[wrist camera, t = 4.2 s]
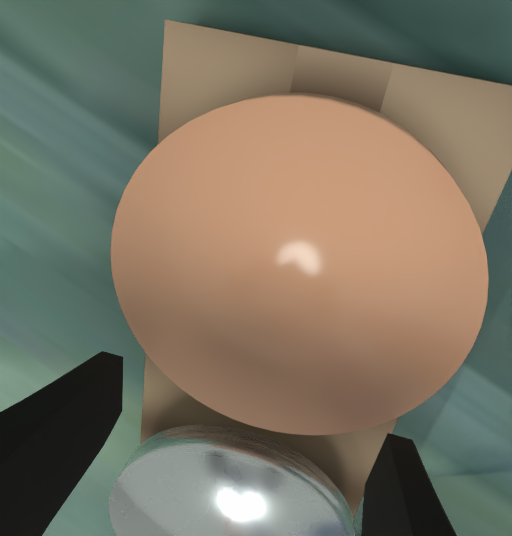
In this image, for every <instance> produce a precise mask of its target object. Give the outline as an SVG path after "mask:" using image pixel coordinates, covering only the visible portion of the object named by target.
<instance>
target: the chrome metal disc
mask: <svg viewBox="0 0 512 536" xmlns="http://www.w3.org/2000/svg"><path fill="white" fill-rule="evenodd" d="M109 515H110V519H111V523H112V526H113V529H114V531H115V533H116V535H117V536H355V530H354V520H353V517H352V514H351V510H350V508H349V506H348V504H347V502H346V500H345V498H344V496H343V495H342V493H341V492H340V490H339V489H338V487H337V486H336V485H335V484H334V483H333V482H332V481H331V479H330V478H329V477H328V476H327V475H326V474H325V473H324V472H323V471H321V470H320V469H319V468H318V467H317V466H316V465H315V464H313V463H312V462H311V461H309V460H308V459H306V458H305V457H304V456H302V455H301V454H299V453H297V452H296V451H294V450H292V449H290V448H289V447H287V446H285V445H283V444H281V443H279V442H276V441H274V440H272V439H270V438H267V437H264V436H262V435H259V434H256V433H253V432H249V431H245V430H241V429H238V428H232V427H226V426H219V425H187V426H181V427H175V428H171V429H168V430H165V431H162V432H159V433H157V434H155V435H153V436H151V437H150V438H148V439H147V440H145V441H144V442H143V443H141V444H140V445H139V446H138V447H137V449H136V450H135V451H134V452H133V454H132V455H131V457H130V459H129V460H128V462H127V464H126V466H125V467H124V469H123V471H122V472H121V474H120V476H119V478H118V479H117V481H116V483H115V484H114V486H113V488H112V491H111V494H110V499H109Z"/></svg>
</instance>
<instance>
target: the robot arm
mask: <svg viewBox="0 0 512 536" xmlns="http://www.w3.org/2000/svg"><path fill="white" fill-rule="evenodd" d="M122 389H123V357H121V356H117V355H114V354H110V353H107V352H103V351H102V352H100V353H99V354H97V355H95V356H94V357H92V358H90V359H89V360H87V361H86V362H84V363H82V364H81V365H79V366H78V367H76V368H74V369H73V370H71V371H70V372H68V373H66V374H65V375H63V376H62V377H60V378H58V379H57V380H55V381H54V382H52V383H50V384H49V385H47V386H45V387H44V388H42V389H40V390H39V391H37V392H35V393H34V394H32V395H30V396H29V397H27V398H25V399H23V400H22V401H20V402H18V403H16V404H14V405H13V406H11V407H9V408H7V409H5V410H3V411H2V412H0V536H42V535H43V533H44V532H45V530H46V528H47V527H48V525H49V524H50V522H51V521H52V519H53V518H54V516H55V515H56V514H57V512H58V511H59V509H60V508H61V506H62V505H63V503H64V502H65V501H66V499H67V498H68V496H69V495H70V493H71V492H72V491H73V489H74V488H75V486H76V485H77V483H78V482H79V481H80V479H81V478H82V476H83V475H84V473H85V472H86V470H87V469H88V468H89V466H90V465H91V463H92V462H93V460H94V459H95V457H96V456H97V454H98V453H99V452H100V450H101V449H102V447H103V446H104V444H105V442H106V440H107V438H108V437H109V435H110V433H111V431H112V429H113V427H114V425H115V424H116V422H117V420H118V418H119V416H120V414H121V412H122ZM362 536H457V535H456V533H455V531H454V529H453V527H452V525H451V523H450V521H449V519H448V517H447V515H446V513H445V511H444V509H443V507H442V505H441V503H440V501H439V499H438V496H437V494H436V492H435V490H434V488H433V485H432V483H431V481H430V479H429V477H428V474H427V472H426V470H425V467H424V465H423V463H422V460H421V458H420V456H419V453H418V451H417V449H416V446H415V444H414V442H413V441H412V440H410V439H407V438H403V437H400V436H396V435H393V434H389V433H387V436H386V438H385V440H384V442H383V445H382V447H381V449H380V451H379V454H378V456H377V458H376V460H375V463H374V465H373V467H372V470H371V472H370V474H369V476H368V479H367V481H366V483H365V491H364V503H363V518H362Z"/></svg>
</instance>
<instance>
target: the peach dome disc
mask: <svg viewBox="0 0 512 536" xmlns="http://www.w3.org/2000/svg"><path fill="white" fill-rule="evenodd" d="M111 266H112V275H113V280H114V286H115V291H116V294H117V297H118V300H119V303H120V306H121V309H122V312H123V314H124V316H125V318H126V321H127V323H128V325H129V327H130V329H131V331H132V332H133V334H134V336H135V337H136V339H137V341H138V342H139V344H140V346H141V347H142V348H143V350H144V351H145V352H146V353H147V355H148V356H149V357H150V359H151V360H152V361H153V362H154V363H155V365H156V366H157V367H158V368H159V369H160V370H161V371H162V372H163V373H164V374H165V375H166V376H167V377H168V378H169V379H170V380H171V381H173V382H174V383H175V384H176V385H177V386H178V387H180V388H181V389H182V390H183V391H185V392H186V393H188V394H189V395H190V396H192V397H193V398H195V399H196V400H197V401H199V402H201V403H202V404H204V405H206V406H208V407H209V408H211V409H213V410H215V411H217V412H219V413H221V414H223V415H225V416H227V417H230V418H232V419H234V420H237V421H240V422H243V423H245V424H248V425H251V426H254V427H258V428H262V429H266V430H270V431H275V432H282V433H288V434H299V435H333V434H341V433H348V432H354V431H358V430H362V429H366V428H370V427H374V426H377V425H380V424H382V423H385V422H388V421H390V420H393V419H395V418H397V417H399V416H401V415H403V414H405V413H407V412H409V411H411V410H413V409H414V408H416V407H417V406H419V405H420V404H422V403H423V402H424V401H426V400H427V399H429V398H430V397H431V396H433V395H434V394H435V393H436V392H437V391H438V390H439V389H440V388H441V387H443V386H444V385H445V384H446V383H447V382H448V381H449V379H450V378H451V377H452V376H453V375H454V373H455V372H456V371H457V370H458V369H459V368H460V366H461V365H462V363H463V362H464V360H465V358H466V357H467V355H468V353H469V352H470V350H471V349H472V347H473V345H474V342H475V340H476V337H477V335H478V333H479V330H480V328H481V325H482V321H483V317H484V313H485V309H486V304H487V294H488V281H489V277H488V266H487V255H486V250H485V246H484V243H483V239H482V235H481V231H480V228H479V225H478V223H477V221H476V219H475V216H474V214H473V212H472V209H471V207H470V205H469V203H468V201H467V200H466V198H465V197H464V195H463V194H462V192H461V190H460V189H459V187H458V186H457V184H456V183H455V181H454V179H453V178H452V177H451V175H450V174H449V172H448V171H447V169H446V168H445V166H444V165H443V164H442V163H441V162H440V161H439V159H438V158H437V157H436V156H435V155H434V154H433V153H432V151H431V150H430V149H429V148H428V147H427V146H426V145H425V144H424V143H423V142H421V141H420V140H419V139H418V138H417V137H416V136H414V135H413V134H412V133H411V132H410V131H408V130H407V129H406V128H404V127H403V126H401V125H400V124H398V123H396V122H395V121H393V120H392V119H390V118H388V117H387V116H385V115H384V114H381V113H379V112H377V111H375V110H372V109H370V108H368V107H366V106H363V105H361V104H359V103H355V102H352V101H348V100H345V99H341V98H338V97H334V96H329V95H321V94H314V93H306V92H295V93H273V94H267V95H260V96H254V97H250V98H247V99H244V100H240V101H237V102H234V103H231V104H228V105H225V106H222V107H220V108H217V109H215V110H212V111H210V112H208V113H206V114H204V115H202V116H200V117H197V118H195V119H193V120H191V121H189V122H188V123H186V124H185V125H183V126H182V127H180V128H179V129H177V130H176V131H174V132H173V133H171V134H170V135H168V136H167V137H166V138H165V139H164V140H163V141H162V142H161V143H160V144H158V145H157V146H156V147H155V148H154V149H153V150H152V151H151V152H150V153H149V154H148V156H147V157H146V158H145V159H144V161H143V162H142V163H141V164H140V166H139V167H138V168H137V169H136V171H135V173H134V174H133V176H132V178H131V180H130V181H129V183H128V185H127V187H126V188H125V190H124V193H123V195H122V198H121V201H120V203H119V206H118V208H117V212H116V216H115V221H114V225H113V229H112V240H111Z"/></svg>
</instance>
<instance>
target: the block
mask: <svg viewBox="0 0 512 536" xmlns="http://www.w3.org/2000/svg"><path fill="white" fill-rule="evenodd" d="M295 92H306V93H314V94H321V95H329V96H334V97H338V98H341V99H345V100H348V101H352V102H355V103H359V104H361V105H363V106H366V107H368V108H370V109H372V110H375V111H377V112H379V113H381V114H384V115H385V116H387V117H388V118H390V119H392V120H393V121H395V122H396V123H398V124H400V125H401V126H403V127H404V128H406V129H407V130H408V131H410V132H411V133H412V134H413V135H414V136H416V137H417V138H418V139H419V140H420V141H421V142H423V143H424V144H425V145H426V146H427V147H428V148H429V149H430V150H431V151H432V153H433V154H434V155H435V156H436V157H437V158H438V159H439V161H440V162H441V163H442V164H443V165H444V166H445V168H446V169H447V171H448V172H449V174H450V175H451V177H452V178H453V179H454V181H455V183H456V184H457V186H458V187H459V189H460V190H461V192H462V194H463V195H464V197H465V198H466V200H467V201H468V203H469V205H470V207H471V209H472V212H473V214H474V216H475V219H476V221H477V223H478V225H479V228H480V231H481V235H482V234H483V232H484V229H485V227H486V225H487V223H488V221H489V218H490V216H491V214H492V212H493V210H494V207H495V205H496V203H497V201H498V199H499V196H500V194H501V192H502V190H503V188H504V185H505V183H506V181H507V179H508V177H509V174H510V172H511V170H512V85H510V84H505V83H499V82H494V81H489V80H484V79H478V78H473V77H468V76H463V75H458V74H452V73H447V72H442V71H437V70H431V69H426V68H421V67H416V66H411V65H405V64H400V63H395V62H390V61H384V60H379V59H374V58H369V57H364V56H358V55H353V54H348V53H343V52H337V51H332V50H327V49H322V48H317V47H311V46H306V45H301V44H296V43H290V42H285V41H280V40H275V39H270V38H264V37H259V36H254V35H249V34H244V33H238V32H233V31H228V30H223V29H217V28H212V27H207V26H202V25H197V24H190V23H184V22H178V21H172V20H166V19H165V30H164V47H163V64H162V82H161V99H160V116H159V133H158V144H160V143H161V142H162V141H163V140H164V139H165V138H166V137H167V136H168V135H170V134H171V133H173V132H174V131H176V130H177V129H179V128H180V127H182V126H183V125H185V124H186V123H188V122H189V121H191V120H193V119H195V118H197V117H200V116H202V115H204V114H206V113H208V112H210V111H212V110H215V109H217V108H220V107H222V106H225V105H228V104H231V103H234V102H237V101H240V100H244V99H247V98H250V97H254V96H260V95H267V94H273V93H295ZM398 418H399V417H397V418H395V419H393V420H390V421H388V422H385V423H382V424H380V425H377V426H374V427H370V428H366V429H362V430H358V431H354V432H348V433H341V434H333V435H299V434H288V433H282V432H275V431H270V430H266V429H262V428H258V427H254V426H251V425H248V424H245V423H243V422H240V421H237V420H234V419H232V418H230V417H227V416H225V415H223V414H221V413H219V412H217V411H215V410H213V409H211V408H209V407H208V406H206V405H204V404H202V403H201V402H199V401H197V400H196V399H195V398H193V397H192V396H190V395H189V394H188V393H186V392H185V391H183V390H182V389H181V388H180V387H178V386H177V385H176V384H175V383H174V382H173V381H171V380H170V379H169V378H168V377H167V376H166V375H165V374H164V373H163V372H162V371H161V370H160V369H159V368H158V367H157V366H156V365H155V363H154V362H153V361H152V360H151V359H150V357H149V356H148V355H147V353H146V357H145V375H144V392H143V409H142V426H141V443H143V442H144V441H145V440H147V439H148V438H150V437H151V436H153V435H155V434H157V433H159V432H162V431H165V430H168V429H171V428H175V427H181V426H187V425H219V426H226V427H232V428H238V429H241V430H245V431H249V432H253V433H256V434H259V435H262V436H264V437H267V438H270V439H272V440H274V441H276V442H279V443H281V444H283V445H285V446H287V447H289V448H290V449H292V450H294V451H296V452H297V453H299V454H301V455H302V456H304V457H305V458H306V459H308V460H309V461H311V462H312V463H313V464H315V465H316V466H317V467H318V468H319V469H320V470H321V471H323V472H324V473H325V474H326V475H327V476H328V477H329V478H330V479H331V481H332V482H333V483H334V484H335V485H336V486H337V487H338V489H339V490H340V492H341V493H342V495H343V496H344V498H345V500H346V502H347V504H348V506H349V508H350V510H351V514H352V517H354V515H355V513H356V511H357V509H358V506H359V504H360V502H361V500H362V498H363V495H364V491H365V483H366V481H367V479H368V476H369V474H370V472H371V470H372V467H373V465H374V463H375V460H376V458H377V456H378V454H379V451H380V449H381V447H382V445H383V442H384V440H385V438H386V436H387V433H389V434H392V432H393V429H394V427H395V425H396V423H397V421H398ZM141 443H140V444H141Z"/></svg>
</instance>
